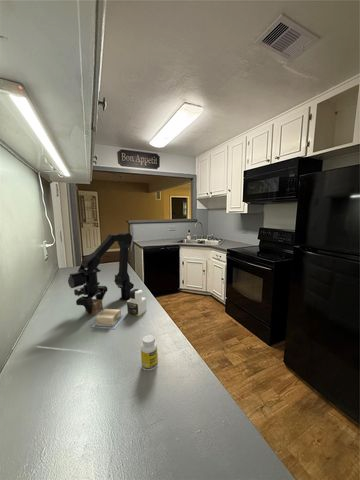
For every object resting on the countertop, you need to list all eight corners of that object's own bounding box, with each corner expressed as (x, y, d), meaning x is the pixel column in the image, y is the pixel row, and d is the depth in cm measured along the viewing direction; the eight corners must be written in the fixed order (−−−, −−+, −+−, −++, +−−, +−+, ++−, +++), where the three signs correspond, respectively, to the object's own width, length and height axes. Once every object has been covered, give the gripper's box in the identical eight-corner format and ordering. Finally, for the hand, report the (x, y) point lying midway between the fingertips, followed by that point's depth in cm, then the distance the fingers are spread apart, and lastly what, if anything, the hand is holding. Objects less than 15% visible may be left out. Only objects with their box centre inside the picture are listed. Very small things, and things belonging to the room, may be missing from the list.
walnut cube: (92, 309, 109) (91, 298, 108) (103, 310, 108) (102, 299, 107) (85, 315, 103) (84, 304, 102) (96, 315, 102) (95, 304, 101)
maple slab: (106, 316, 100) (105, 308, 99) (121, 317, 98) (120, 309, 98) (96, 325, 92) (96, 317, 91) (112, 326, 91) (112, 318, 90)
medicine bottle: (127, 314, 102) (125, 291, 101) (136, 308, 109) (135, 286, 107) (138, 317, 99) (136, 294, 97) (147, 310, 105) (145, 288, 104)
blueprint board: (104, 315, 102) (104, 313, 102) (126, 316, 100) (126, 315, 100) (90, 328, 91) (90, 327, 90) (114, 330, 88) (114, 329, 88)
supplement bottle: (150, 373, 64) (149, 345, 63) (138, 367, 67) (136, 340, 66) (161, 362, 69) (159, 336, 67) (149, 357, 71) (147, 331, 70)
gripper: (88, 275, 114) (91, 301, 116) (64, 288, 95) (68, 318, 98) (106, 276, 112) (109, 302, 114) (85, 289, 93) (88, 320, 96)
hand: (94, 310), depth 105 cm, fingers open, 8 cm apart
